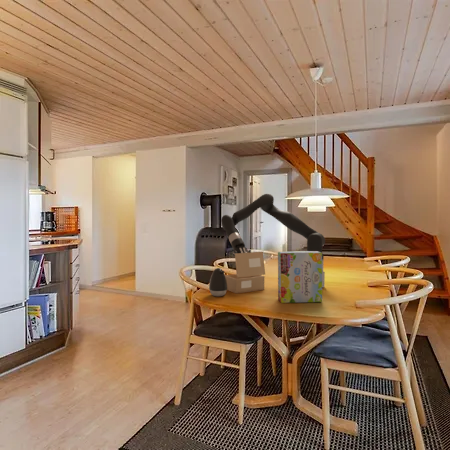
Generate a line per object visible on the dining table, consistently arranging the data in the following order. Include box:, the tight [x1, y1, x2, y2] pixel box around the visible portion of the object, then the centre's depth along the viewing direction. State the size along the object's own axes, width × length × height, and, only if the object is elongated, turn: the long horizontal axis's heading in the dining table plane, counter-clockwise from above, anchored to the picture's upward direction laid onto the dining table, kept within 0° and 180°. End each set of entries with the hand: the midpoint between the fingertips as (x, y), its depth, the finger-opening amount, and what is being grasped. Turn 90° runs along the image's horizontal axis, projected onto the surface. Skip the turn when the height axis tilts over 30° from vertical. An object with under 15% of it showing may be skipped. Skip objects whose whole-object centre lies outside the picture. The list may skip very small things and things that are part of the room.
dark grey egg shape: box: [208, 267, 228, 297], centre depth 183 cm, size 10×10×15 cm
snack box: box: [277, 250, 323, 304], centre depth 172 cm, size 22×9×26 cm, turn 92°
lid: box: [234, 251, 266, 278], centre depth 193 cm, size 14×20×1 cm
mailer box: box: [225, 273, 265, 294], centre depth 199 cm, size 14×20×8 cm
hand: (247, 263), depth 196 cm, fingers closed
